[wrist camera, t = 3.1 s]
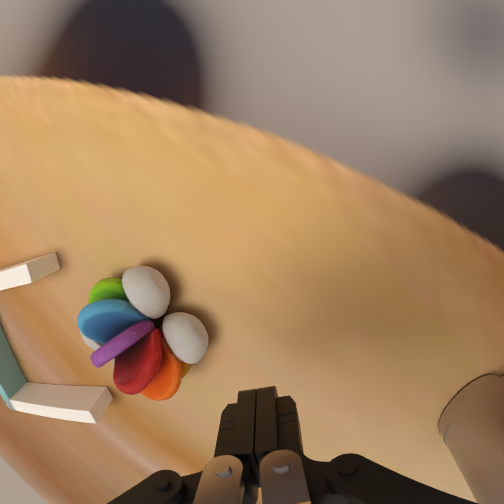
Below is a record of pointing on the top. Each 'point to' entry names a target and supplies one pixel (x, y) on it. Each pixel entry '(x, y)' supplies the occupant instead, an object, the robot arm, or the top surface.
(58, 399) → the bay
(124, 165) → the top surface
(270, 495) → the robot arm
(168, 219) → the top surface
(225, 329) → the top surface
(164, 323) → the multicoloured petal flower toy
